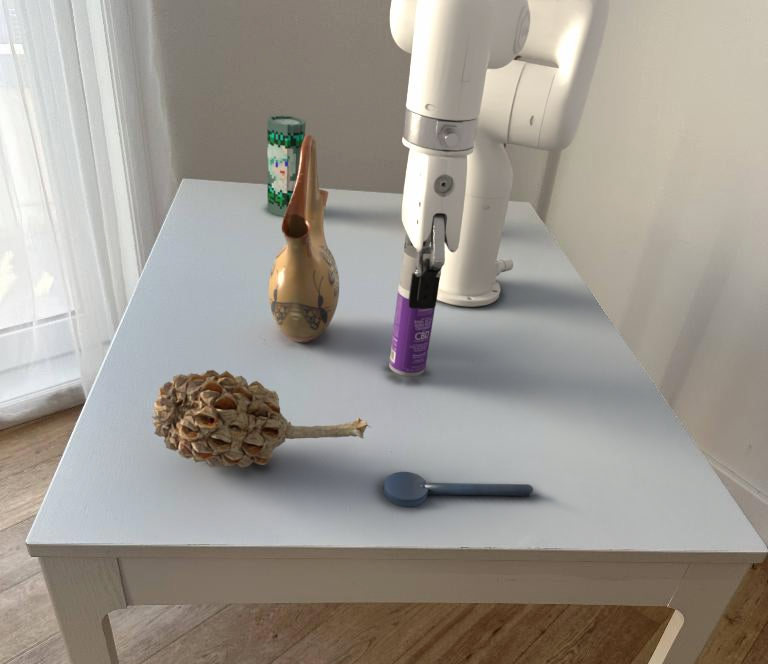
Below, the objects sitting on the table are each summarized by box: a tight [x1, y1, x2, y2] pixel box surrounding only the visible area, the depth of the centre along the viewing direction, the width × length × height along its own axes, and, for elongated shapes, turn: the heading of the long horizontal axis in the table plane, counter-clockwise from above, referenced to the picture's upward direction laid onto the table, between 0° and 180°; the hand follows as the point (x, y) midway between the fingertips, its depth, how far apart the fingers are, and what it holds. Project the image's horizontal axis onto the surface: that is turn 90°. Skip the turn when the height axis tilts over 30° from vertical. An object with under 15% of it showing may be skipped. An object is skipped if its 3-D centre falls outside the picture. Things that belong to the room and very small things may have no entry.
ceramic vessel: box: [268, 134, 340, 343], centre depth 91 cm, size 16×9×25 cm, turn 175°
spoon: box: [383, 471, 534, 508], centre depth 77 cm, size 16×5×1 cm, turn 96°
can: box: [266, 114, 306, 217], centre depth 129 cm, size 6×6×15 cm
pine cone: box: [151, 369, 371, 468], centre depth 75 cm, size 22×10×10 cm, turn 98°
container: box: [388, 245, 436, 377], centre depth 89 cm, size 5×5×15 cm
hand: (417, 295), depth 88 cm, fingers closed on container, 4 cm apart
